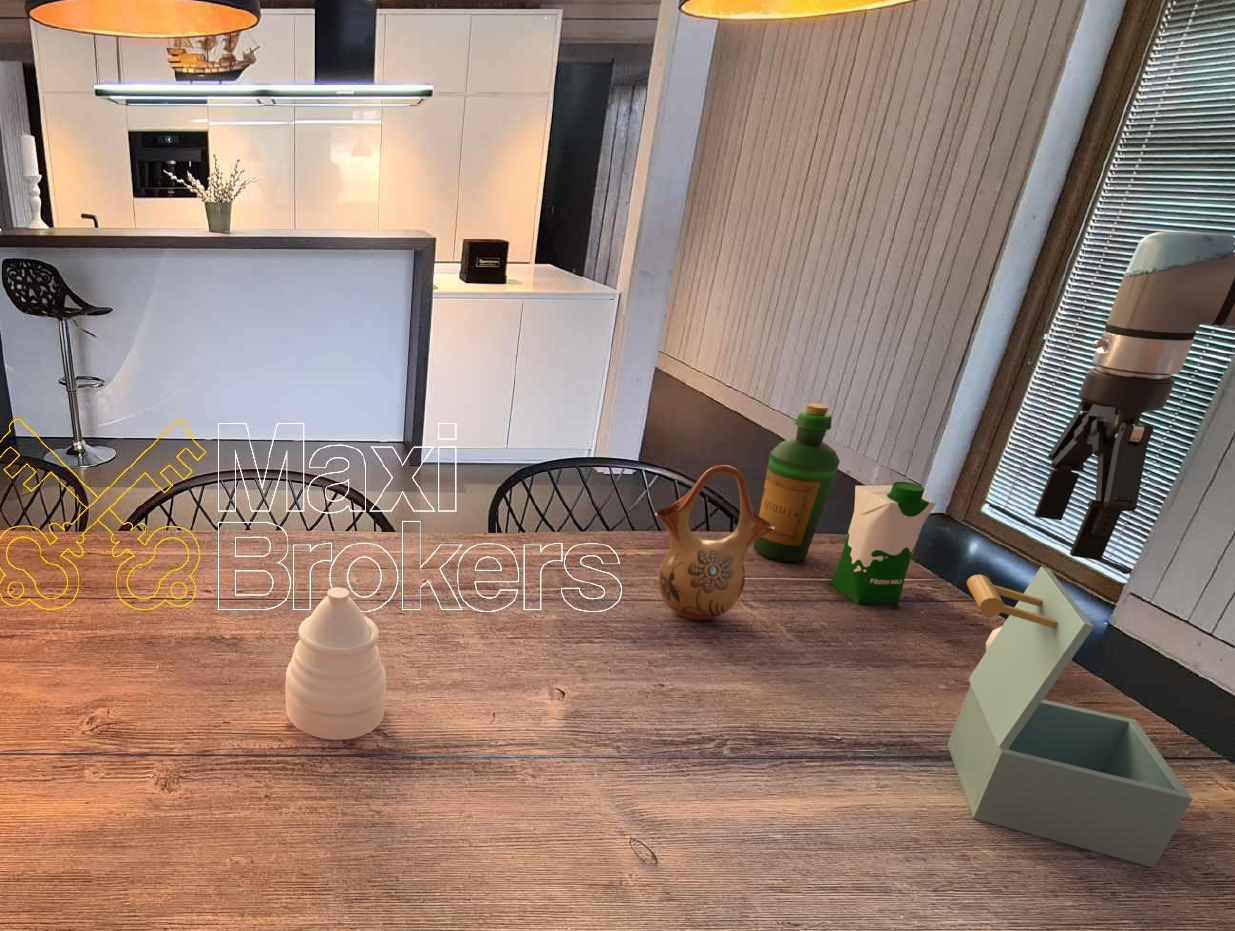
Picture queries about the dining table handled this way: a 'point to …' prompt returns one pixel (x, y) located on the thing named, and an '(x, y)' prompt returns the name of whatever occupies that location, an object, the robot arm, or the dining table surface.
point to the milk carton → (881, 542)
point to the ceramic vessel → (706, 555)
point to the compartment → (1071, 780)
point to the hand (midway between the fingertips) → (1065, 536)
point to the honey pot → (336, 672)
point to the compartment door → (1024, 649)
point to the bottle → (797, 487)
